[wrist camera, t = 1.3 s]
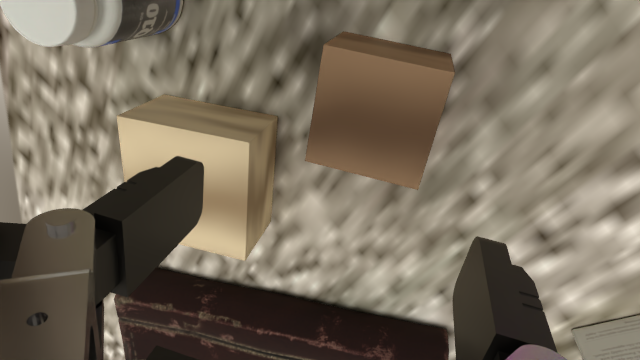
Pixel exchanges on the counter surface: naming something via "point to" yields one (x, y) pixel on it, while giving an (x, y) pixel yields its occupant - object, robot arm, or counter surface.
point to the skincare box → (610, 340)
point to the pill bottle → (89, 20)
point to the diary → (261, 325)
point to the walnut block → (378, 107)
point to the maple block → (209, 164)
